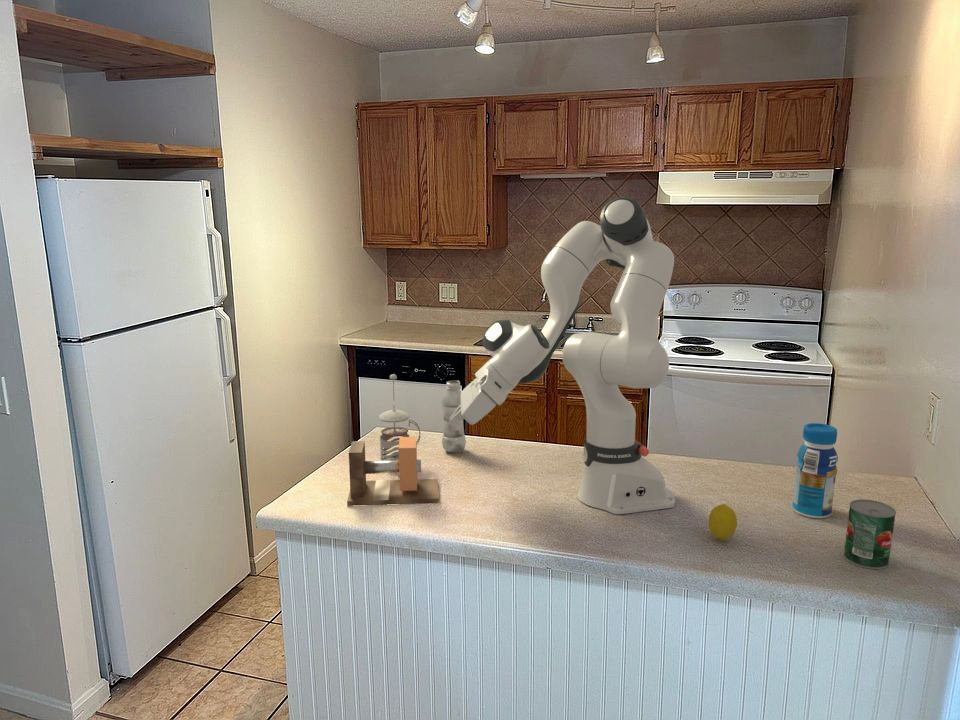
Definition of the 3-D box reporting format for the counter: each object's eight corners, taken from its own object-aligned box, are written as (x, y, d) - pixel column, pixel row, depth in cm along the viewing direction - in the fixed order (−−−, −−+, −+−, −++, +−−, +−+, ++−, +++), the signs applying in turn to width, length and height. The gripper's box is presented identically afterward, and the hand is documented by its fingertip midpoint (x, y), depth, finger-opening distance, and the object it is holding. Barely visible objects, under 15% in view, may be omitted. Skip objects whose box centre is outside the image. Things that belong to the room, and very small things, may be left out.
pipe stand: (437, 483, 177) (437, 436, 175) (438, 503, 166) (437, 453, 163) (352, 485, 176) (350, 438, 173) (347, 506, 164) (345, 455, 162)
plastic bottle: (463, 456, 196) (462, 385, 192) (439, 454, 198) (438, 384, 193) (468, 448, 203) (467, 380, 198) (445, 446, 204) (444, 378, 200)
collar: (417, 477, 175) (416, 436, 172) (416, 490, 167) (416, 447, 164) (400, 477, 174) (399, 437, 172) (399, 490, 166) (398, 448, 164)
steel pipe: (421, 469, 172) (420, 457, 171) (421, 474, 169) (420, 462, 168) (358, 471, 170) (357, 459, 170) (356, 476, 167) (356, 463, 167)
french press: (377, 460, 193) (374, 370, 188) (420, 458, 195) (418, 369, 189) (376, 473, 184) (373, 379, 178) (421, 471, 185) (419, 378, 180)
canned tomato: (840, 547, 145) (846, 496, 142) (883, 553, 142) (890, 501, 140) (847, 566, 137) (854, 513, 135) (893, 572, 135) (900, 518, 133)
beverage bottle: (784, 504, 165) (792, 421, 161) (818, 503, 166) (828, 420, 161) (803, 520, 157) (812, 433, 152) (840, 519, 158) (850, 432, 153)
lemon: (720, 548, 144) (723, 511, 142) (701, 537, 149) (704, 501, 147) (741, 543, 146) (744, 507, 145) (722, 532, 151) (725, 497, 150)
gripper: (481, 363, 177) (442, 401, 179) (485, 383, 157) (441, 426, 159) (499, 380, 178) (460, 418, 180) (505, 403, 158) (461, 445, 160)
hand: (451, 422), depth 169 cm, fingers closed
